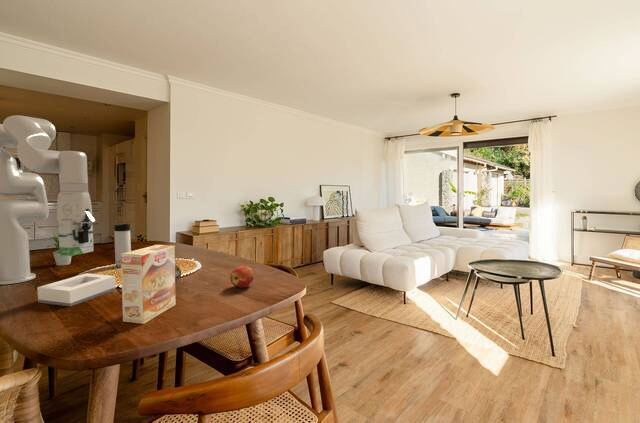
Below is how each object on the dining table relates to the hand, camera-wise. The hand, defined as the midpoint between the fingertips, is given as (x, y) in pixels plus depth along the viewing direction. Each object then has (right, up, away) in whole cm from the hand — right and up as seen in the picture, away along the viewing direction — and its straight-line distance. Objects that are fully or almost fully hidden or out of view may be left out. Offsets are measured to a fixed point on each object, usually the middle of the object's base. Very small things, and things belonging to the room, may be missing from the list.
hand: (76, 241), depth 109 cm
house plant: (-40, -15, +42) cm, 60 cm away
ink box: (0, -4, 0) cm, 4 cm away
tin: (+21, -18, +14) cm, 31 cm away
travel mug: (-9, -15, +42) cm, 45 cm away
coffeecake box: (+31, -21, -12) cm, 39 cm away
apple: (+53, -19, +14) cm, 58 cm away
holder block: (0, -19, +2) cm, 19 cm away
